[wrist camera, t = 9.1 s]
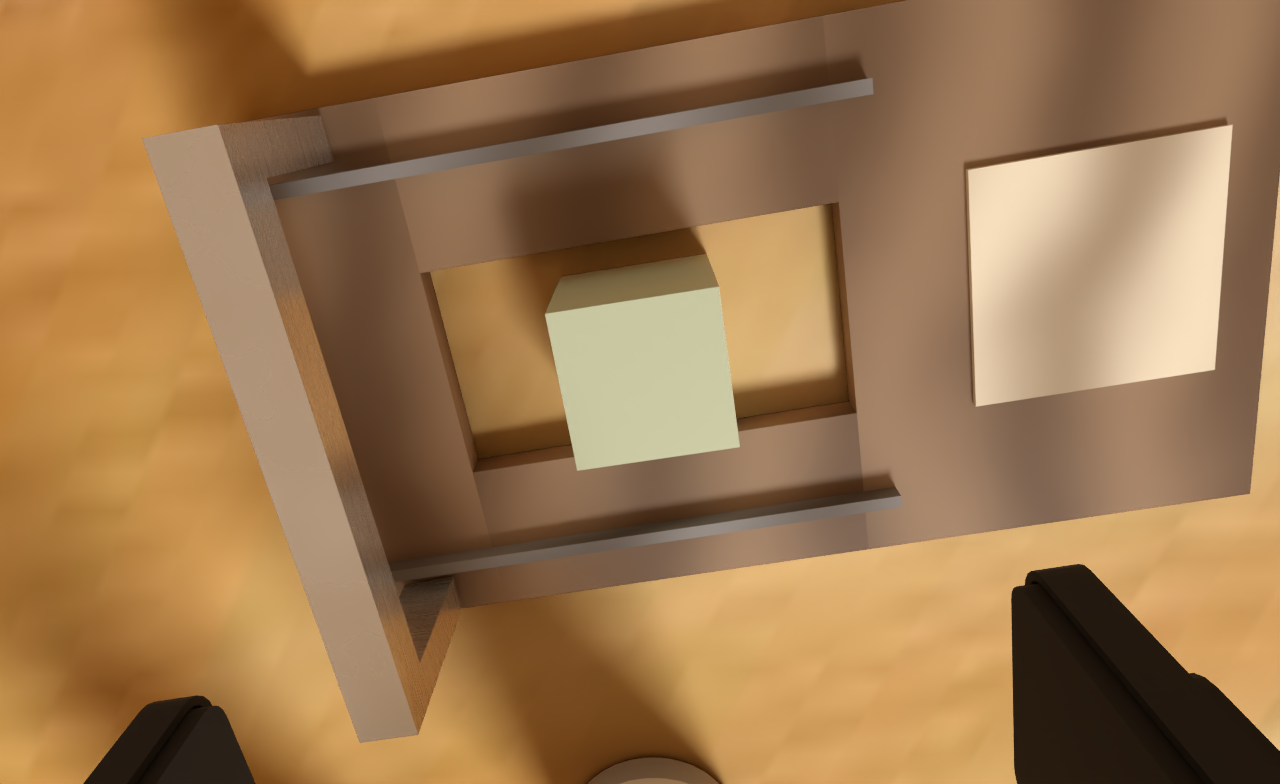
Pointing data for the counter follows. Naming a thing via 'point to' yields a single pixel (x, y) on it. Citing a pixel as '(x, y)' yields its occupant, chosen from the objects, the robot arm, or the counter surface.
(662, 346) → the block
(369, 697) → the gate
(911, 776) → the counter surface
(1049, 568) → the robot arm
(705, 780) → the travel mug
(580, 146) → the board
